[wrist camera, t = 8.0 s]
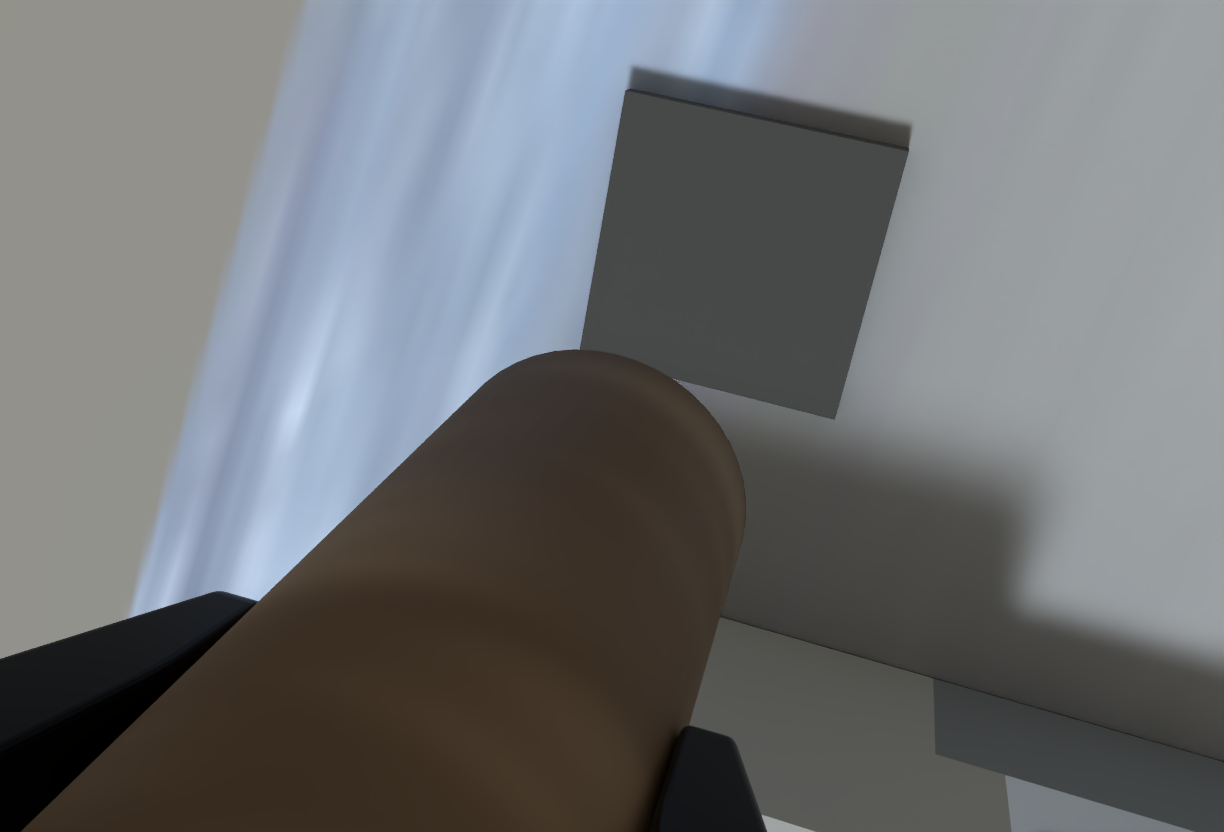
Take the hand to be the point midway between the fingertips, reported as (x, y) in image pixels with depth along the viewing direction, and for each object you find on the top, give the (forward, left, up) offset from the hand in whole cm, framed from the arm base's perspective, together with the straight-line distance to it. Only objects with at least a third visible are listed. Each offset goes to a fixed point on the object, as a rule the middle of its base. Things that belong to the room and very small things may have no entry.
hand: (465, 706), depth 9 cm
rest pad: (0, -1, -13) cm, 13 cm away
